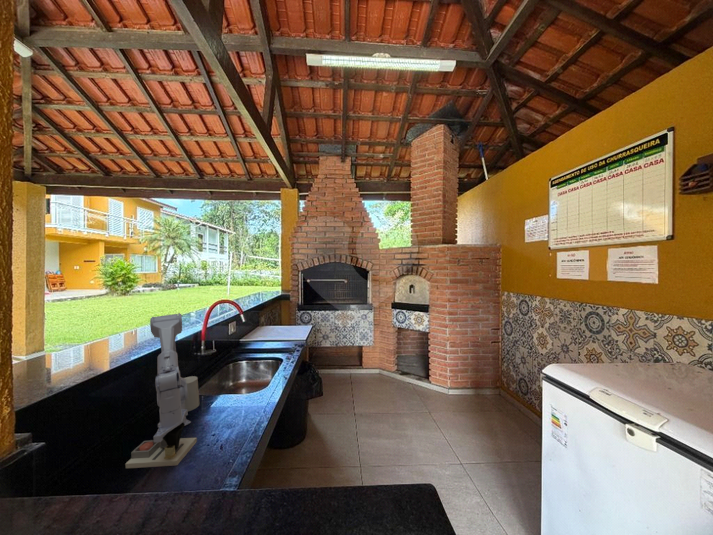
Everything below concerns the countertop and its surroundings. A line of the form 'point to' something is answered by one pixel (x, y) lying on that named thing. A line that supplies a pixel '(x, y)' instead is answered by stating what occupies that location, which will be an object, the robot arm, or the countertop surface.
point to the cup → (192, 393)
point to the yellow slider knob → (170, 452)
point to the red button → (146, 446)
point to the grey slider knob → (163, 444)
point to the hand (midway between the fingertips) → (174, 449)
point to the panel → (159, 454)
